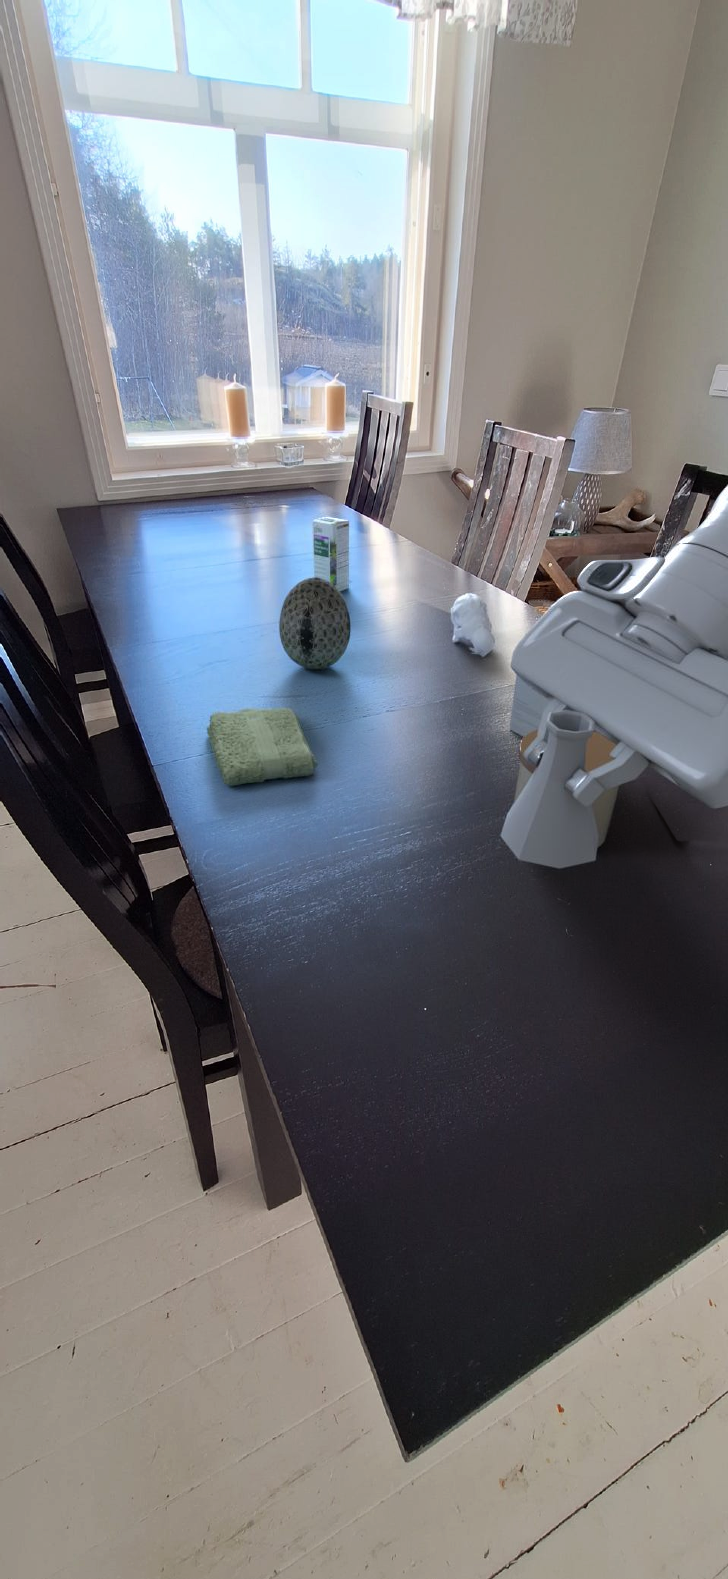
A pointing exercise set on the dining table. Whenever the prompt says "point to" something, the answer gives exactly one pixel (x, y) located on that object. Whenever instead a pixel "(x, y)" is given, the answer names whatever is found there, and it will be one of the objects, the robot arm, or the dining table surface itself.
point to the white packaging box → (526, 708)
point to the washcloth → (259, 745)
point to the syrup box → (331, 551)
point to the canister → (595, 757)
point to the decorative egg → (314, 624)
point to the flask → (555, 801)
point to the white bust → (472, 623)
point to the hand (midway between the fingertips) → (552, 780)
